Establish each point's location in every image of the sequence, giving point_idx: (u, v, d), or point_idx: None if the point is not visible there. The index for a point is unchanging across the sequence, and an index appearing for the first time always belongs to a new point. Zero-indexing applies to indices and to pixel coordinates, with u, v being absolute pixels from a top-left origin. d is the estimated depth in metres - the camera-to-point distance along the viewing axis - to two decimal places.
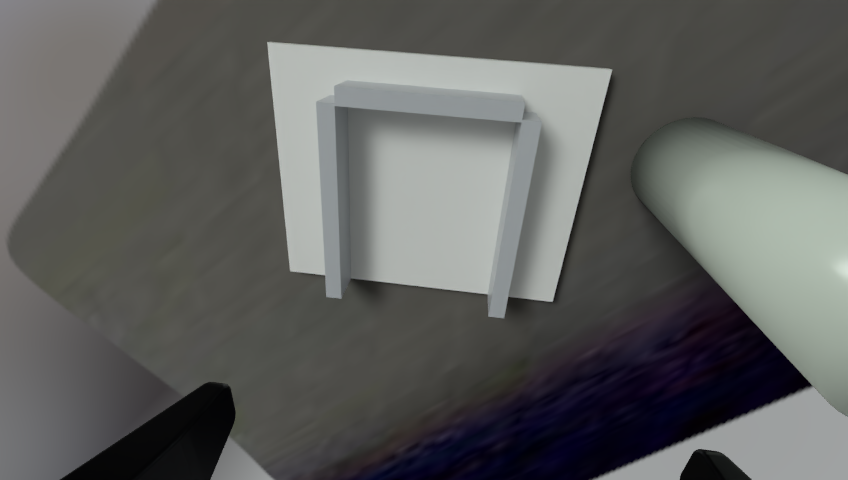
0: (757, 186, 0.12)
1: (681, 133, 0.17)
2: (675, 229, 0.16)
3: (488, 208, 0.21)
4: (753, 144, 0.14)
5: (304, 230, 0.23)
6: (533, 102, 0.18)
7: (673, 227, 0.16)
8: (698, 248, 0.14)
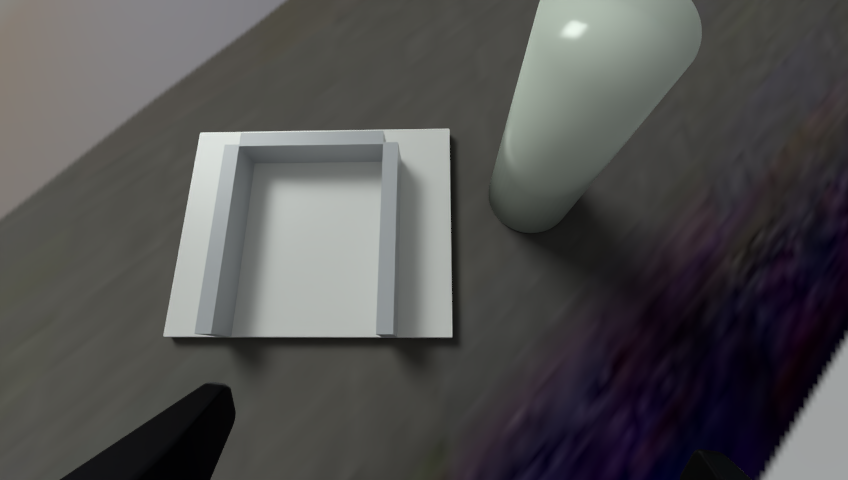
0: None
1: None
2: (507, 173, 0.19)
3: (372, 240, 0.23)
4: None
5: (191, 283, 0.22)
6: None
7: (507, 174, 0.19)
8: (512, 147, 0.17)
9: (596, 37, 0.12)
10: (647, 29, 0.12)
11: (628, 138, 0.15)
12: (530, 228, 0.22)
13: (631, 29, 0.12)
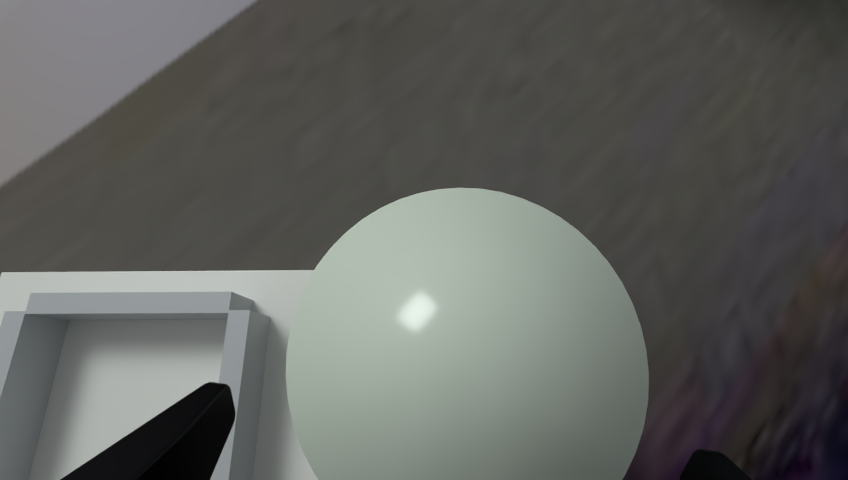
0: None
1: None
2: None
3: None
4: None
5: None
6: (267, 306, 0.18)
7: None
8: None
9: (412, 390, 0.05)
10: (528, 372, 0.05)
11: None
12: None
13: (491, 373, 0.05)
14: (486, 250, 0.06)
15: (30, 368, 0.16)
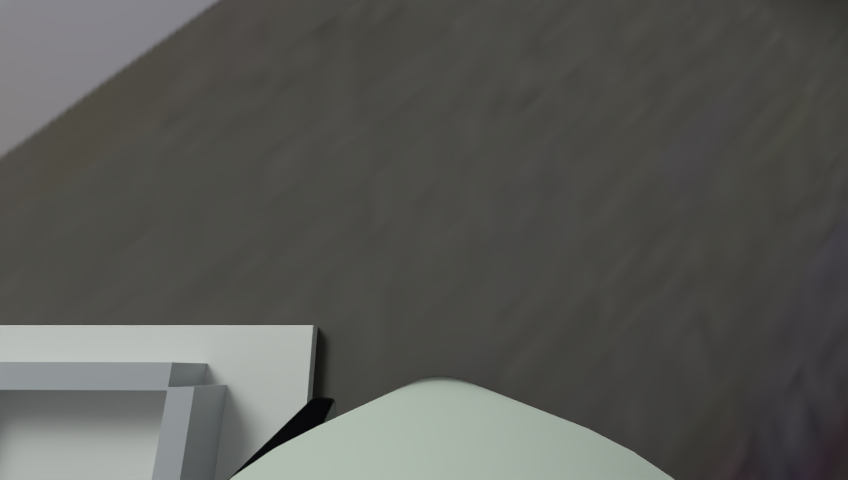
0: None
1: None
2: None
3: None
4: (426, 379, 0.10)
5: None
6: (223, 371, 0.14)
7: None
8: None
9: None
10: None
11: None
12: None
13: None
14: None
15: None
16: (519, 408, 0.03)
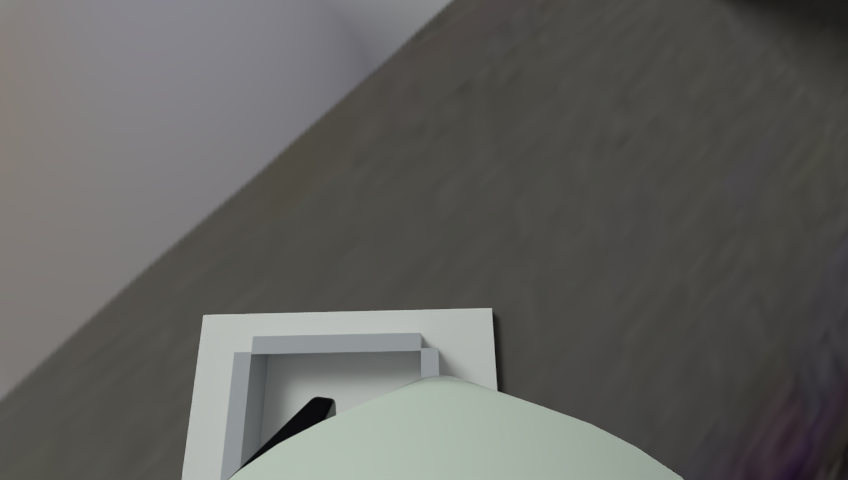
0: None
1: None
2: None
3: None
4: (427, 378, 0.10)
5: None
6: (434, 341, 0.21)
7: None
8: None
9: None
10: None
11: None
12: None
13: None
14: None
15: (254, 398, 0.19)
16: (522, 403, 0.03)
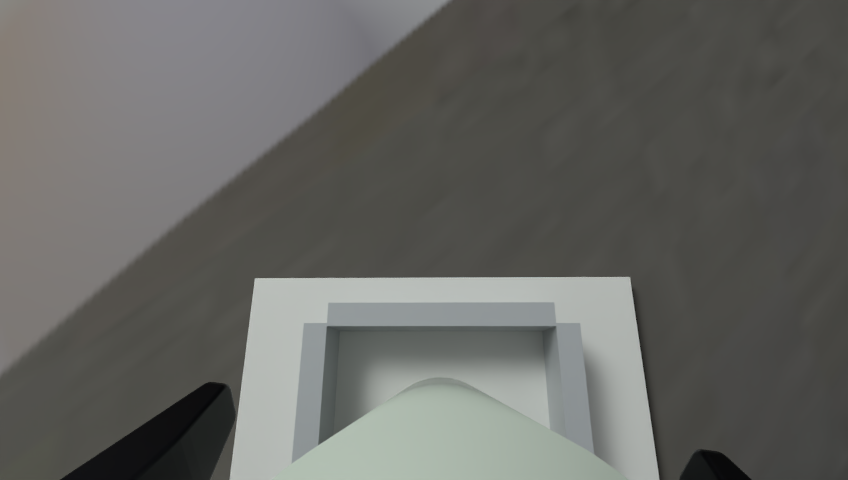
0: None
1: None
2: None
3: None
4: (427, 382, 0.11)
5: None
6: (557, 317, 0.16)
7: None
8: None
9: None
10: None
11: None
12: None
13: None
14: None
15: (328, 385, 0.15)
16: (501, 417, 0.04)
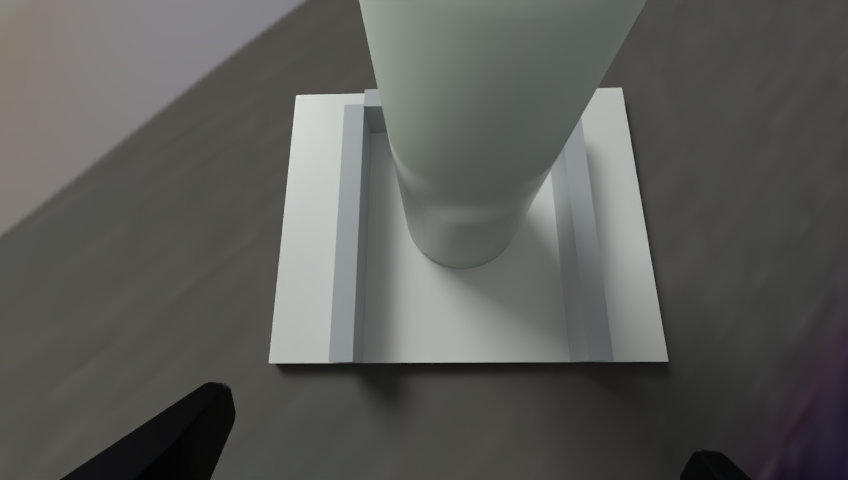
0: None
1: None
2: (402, 189, 0.12)
3: (540, 231, 0.17)
4: None
5: (301, 291, 0.17)
6: None
7: (403, 192, 0.13)
8: (392, 150, 0.11)
9: None
10: None
11: (565, 133, 0.08)
12: (458, 263, 0.16)
13: None
14: None
15: (365, 160, 0.17)
16: None
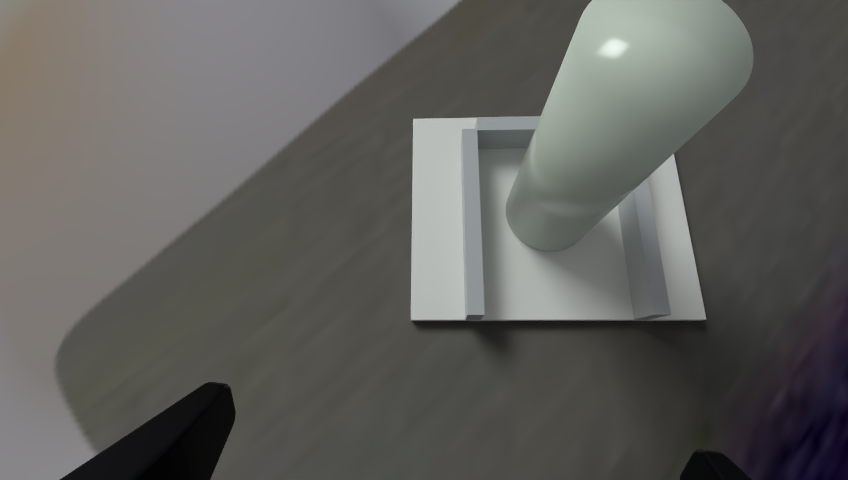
0: None
1: None
2: (531, 192, 0.18)
3: (608, 224, 0.23)
4: None
5: (430, 267, 0.22)
6: None
7: (530, 194, 0.18)
8: (538, 167, 0.16)
9: (640, 58, 0.11)
10: (695, 50, 0.11)
11: None
12: (550, 247, 0.22)
13: (678, 51, 0.11)
14: (668, 3, 0.12)
15: None
16: None
